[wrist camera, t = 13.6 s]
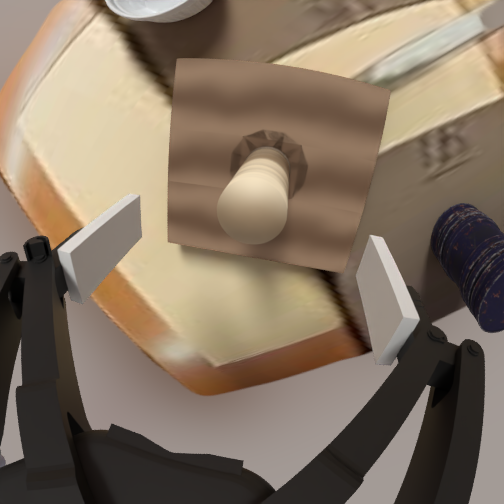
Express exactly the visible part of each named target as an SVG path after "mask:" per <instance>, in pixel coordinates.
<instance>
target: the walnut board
mask: <svg viewBox="0 0 504 504" xmlns="http://www.w3.org/2000/svg"><path fill="white" fill-rule="evenodd" d="M390 93H391V90H388V89H385V88H381V87H378V86H375V85H371V84H368V83H364V82H361V81H357V80H353V79H349V78H345V77H341V76H337V75H332V74H328V73H323V72H318V71H313V70H308V69H303V68H297V67H291V66H284V65H277V64H270V63H261V62H252V61H241V60H227V59H203V58H177V62H176V70H175V79H174V89H173V100H172V112H171V126H170V143H169V165H168V242H170V243H175V244H181V245H186V246H192V247H198V248H203V249H209V250H214V251H220V252H225V253H231V254H237V255H242V256H248V257H254V258H259V259H265V260H270V261H276V262H282V263H288V264H293V265H299V266H305V267H310V268H316V269H322V270H328V271H333V272H339V273H344V270H345V267H346V264H347V261H348V258H349V255H350V252H351V249H352V246H353V243H354V239H355V236H356V233H357V230H358V226H359V223H360V220H361V216H362V213H363V210H364V206H365V202H366V199H367V195H368V192H369V188H370V184H371V180H372V176H373V172H374V168H375V164H376V160H377V156H378V152H379V147H380V143H381V139H382V134H383V129H384V125H385V120H386V115H387V109H388V104H389V99H390ZM263 146H271V147H274V148H277V149H279V150H280V151H282V152H283V153H284V154H285V155H286V157H287V158H288V160H289V163H290V176H289V190H288V209H287V220H286V223H285V226H284V228H283V229H282V231H281V232H280V233H279V235H277V236H276V237H275V238H274V239H272V240H270V241H268V242H266V243H262V244H245V243H242V242H239V241H237V240H235V239H233V238H232V237H230V236H229V235H228V234H227V233H226V232H225V231H224V230H223V228H222V227H221V225H220V223H219V220H218V217H217V204H218V200H219V198H220V196H221V194H222V193H223V191H224V190H225V188H226V187H227V185H228V184H229V183H230V181H231V180H232V178H233V177H234V176H235V174H236V173H237V171H238V170H239V169H240V167H241V166H242V165H243V163H244V161H245V159H246V157H247V156H248V155H249V154H250V153H251V152H252V151H253V150H255V149H256V148H259V147H263Z"/></svg>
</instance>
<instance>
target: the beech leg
mask: <svg viewBox="0 0 504 504" xmlns="http://www.w3.org/2000/svg"><path fill="white" fill-rule="evenodd" d="M289 176H290V163H289V160H288V158H287V157H286V155H285V154H284V153H283V152H282V151H280V150H279V149H277V148H274V147H271V146H263V147H259V148H256V149H255V150H253V151H252V152H251V153H250V154H249V155H248V156H247V157H246V159H245V161H244V163H243V165H242V166H241V167H240V169H239V170H238V171H237V173H236V174H235V176H234V177H233V178H232V180H231V181H230V183H229V184H228V185H227V187H226V188H225V190H224V191H223V193H222V194H221V196H220V198H219V200H218V204H217V217H218V220H219V223H220V225H221V227H222V228H223V230H224V231H225V232H226V233H227V234H228V235H229V236H230V237H232V238H233V239H235V240H237V241H239V242H242V243H245V244H262V243H266V242H268V241H270V240H272V239H274V238H275V237H276V236H277V235H279V233H280V232H281V231H282V229H283V228H284V226H285V223H286V220H287V209H288V190H289Z"/></svg>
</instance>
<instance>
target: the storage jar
mask: <svg viewBox="0 0 504 504" xmlns="http://www.w3.org/2000/svg"><path fill="white" fill-rule="evenodd" d="M431 246H432V250H433V253H434V255H435V256H436V258H437V259H438V260H439V262H440V264H441V266H442V268H443V269H444V271H445V272H446V274H447V275H448V277H449V278H450V279H451V280H452V281H454V282H455V283H456V284H457V286H458V287H459V289H460V293H461V295H462V298H463V300H464V302H465V303H466V305H467V307H468V308H469V310H470V312H471V313H472V314H473V315H474V317H475V319H476V320H477V322H478V324H479V326H480V328H481V329H483V331H485V332H488V333H496V332H500V331H503V330H504V234H503V233H502V232H501V231H500V229H499V228H498V226H497V225H496V223H495V222H494V221H493V220H492V219H490V218H489V217H488V216H487V215H485V214H484V213H482V212H481V211H479V210H478V209H477V208H476V207H474V206H472V205H470V204H466V203H461V204H456V205H454V206H452V207H450V208H449V209H447V210H446V211H445V212H444V213H443V214H442V215H441V216H440V217H439V219H438V220H437V222H436V224H435V226H434V229H433V232H432V236H431Z"/></svg>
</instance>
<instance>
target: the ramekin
mask: <svg viewBox="0 0 504 504" xmlns="http://www.w3.org/2000/svg"><path fill="white" fill-rule="evenodd" d="M105 1H106V3H107V5H108V7H109V8H110V9H111V10H112V11H113V12H115V13H116V14H118V15H120V16H122V17H125V18H127V19H131V20H136V21H152V22H158V23H159V22H164V23H166V22H175V21H179V20H183V19H186V18H189V17H191V16H193V15H195V14H197V13H198V12H200V11H202V10H203V9H204V8H206V7H207V6H208V5H209V4H210V3H211V2H212V1H213V0H105Z"/></svg>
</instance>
